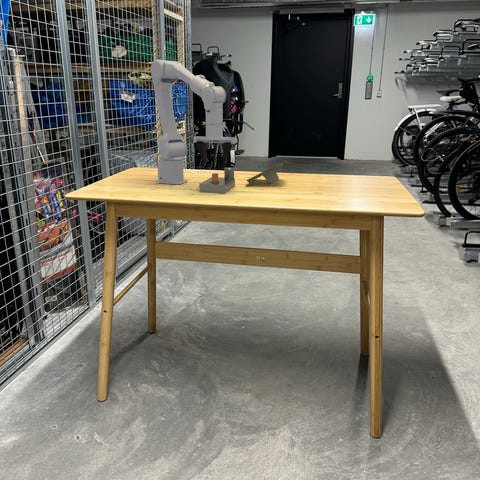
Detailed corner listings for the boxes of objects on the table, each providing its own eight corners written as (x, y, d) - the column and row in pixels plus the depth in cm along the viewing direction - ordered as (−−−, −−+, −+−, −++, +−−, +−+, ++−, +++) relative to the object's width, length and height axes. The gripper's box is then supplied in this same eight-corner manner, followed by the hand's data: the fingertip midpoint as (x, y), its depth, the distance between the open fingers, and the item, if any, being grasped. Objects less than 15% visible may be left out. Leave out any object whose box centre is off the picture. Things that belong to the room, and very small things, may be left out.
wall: (259, 198, 157) (290, 172, 154) (244, 180, 156) (275, 153, 153) (262, 196, 173) (290, 172, 170) (248, 179, 172) (276, 155, 170)
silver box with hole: (199, 192, 148) (198, 172, 145) (212, 184, 161) (211, 166, 158) (224, 193, 145) (224, 173, 143) (235, 186, 158) (235, 167, 156)
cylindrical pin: (212, 189, 152) (212, 173, 150) (218, 190, 151) (218, 173, 149) (211, 191, 149) (211, 174, 148) (217, 191, 149) (217, 174, 147)
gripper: (189, 124, 142) (191, 164, 146) (231, 125, 138) (231, 166, 142) (197, 123, 148) (198, 161, 152) (237, 124, 145) (236, 163, 149)
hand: (214, 164), depth 148 cm, fingers open, 7 cm apart
